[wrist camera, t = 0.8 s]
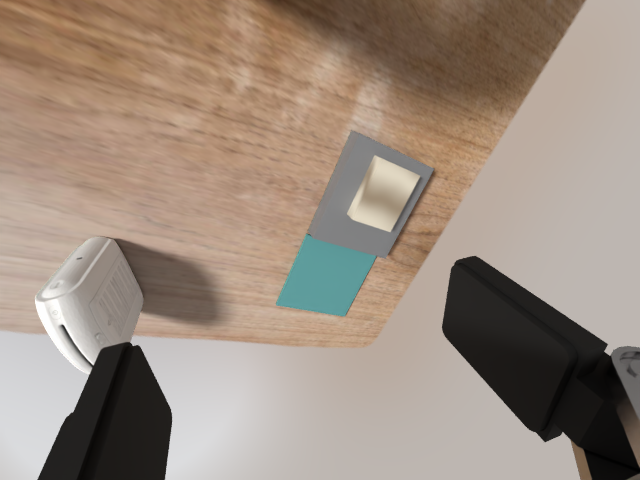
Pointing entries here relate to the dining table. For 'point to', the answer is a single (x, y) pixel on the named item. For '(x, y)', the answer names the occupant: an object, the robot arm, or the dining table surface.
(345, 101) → the dining table surface
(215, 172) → the dining table surface
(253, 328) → the dining table surface
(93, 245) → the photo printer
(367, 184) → the birch tile
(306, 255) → the teal mat
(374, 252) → the grey flat slab
